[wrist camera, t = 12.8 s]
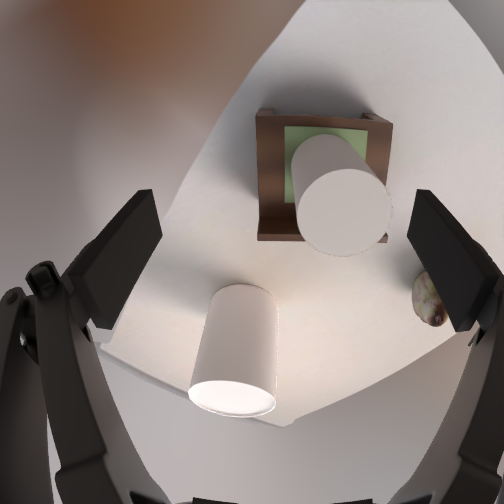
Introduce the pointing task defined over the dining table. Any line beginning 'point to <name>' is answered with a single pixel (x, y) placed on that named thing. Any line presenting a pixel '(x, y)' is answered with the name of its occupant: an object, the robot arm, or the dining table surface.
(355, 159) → the white round cylinder
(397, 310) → the dining table surface
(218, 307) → the canister
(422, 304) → the fruit
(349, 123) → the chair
